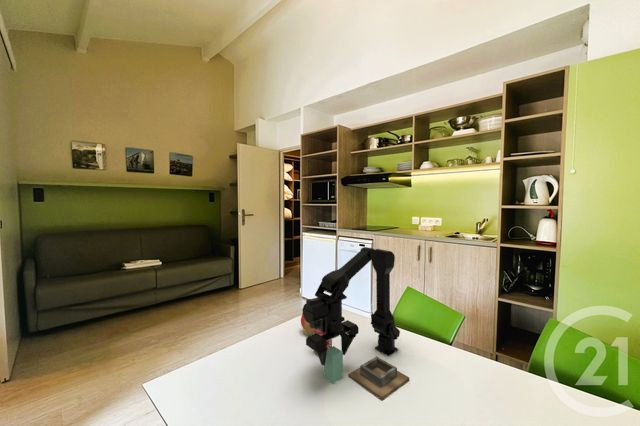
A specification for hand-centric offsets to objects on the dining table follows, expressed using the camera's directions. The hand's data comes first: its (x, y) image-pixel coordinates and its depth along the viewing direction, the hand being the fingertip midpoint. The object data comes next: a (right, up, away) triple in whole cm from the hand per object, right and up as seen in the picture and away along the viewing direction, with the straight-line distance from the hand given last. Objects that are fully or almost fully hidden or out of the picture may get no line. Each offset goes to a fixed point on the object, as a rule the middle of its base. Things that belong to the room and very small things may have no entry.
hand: (333, 359), depth 91 cm
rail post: (0, -6, 0) cm, 6 cm away
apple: (-8, -5, +31) cm, 32 cm away
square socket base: (+15, -6, -1) cm, 16 cm away
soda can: (-3, -5, +16) cm, 17 cm away
